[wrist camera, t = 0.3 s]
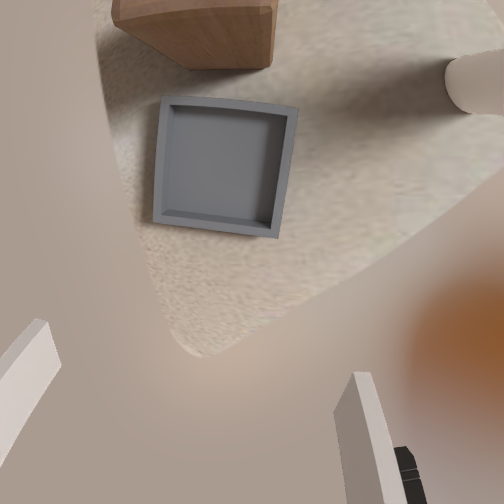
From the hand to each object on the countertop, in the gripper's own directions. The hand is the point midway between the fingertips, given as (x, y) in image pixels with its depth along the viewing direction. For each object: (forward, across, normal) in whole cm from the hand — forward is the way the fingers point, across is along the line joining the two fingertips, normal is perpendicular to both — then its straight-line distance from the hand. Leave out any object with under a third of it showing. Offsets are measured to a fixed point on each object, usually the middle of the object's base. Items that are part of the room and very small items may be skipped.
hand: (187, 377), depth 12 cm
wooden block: (+28, -4, +20) cm, 35 cm away
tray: (+28, -2, +4) cm, 28 cm away
